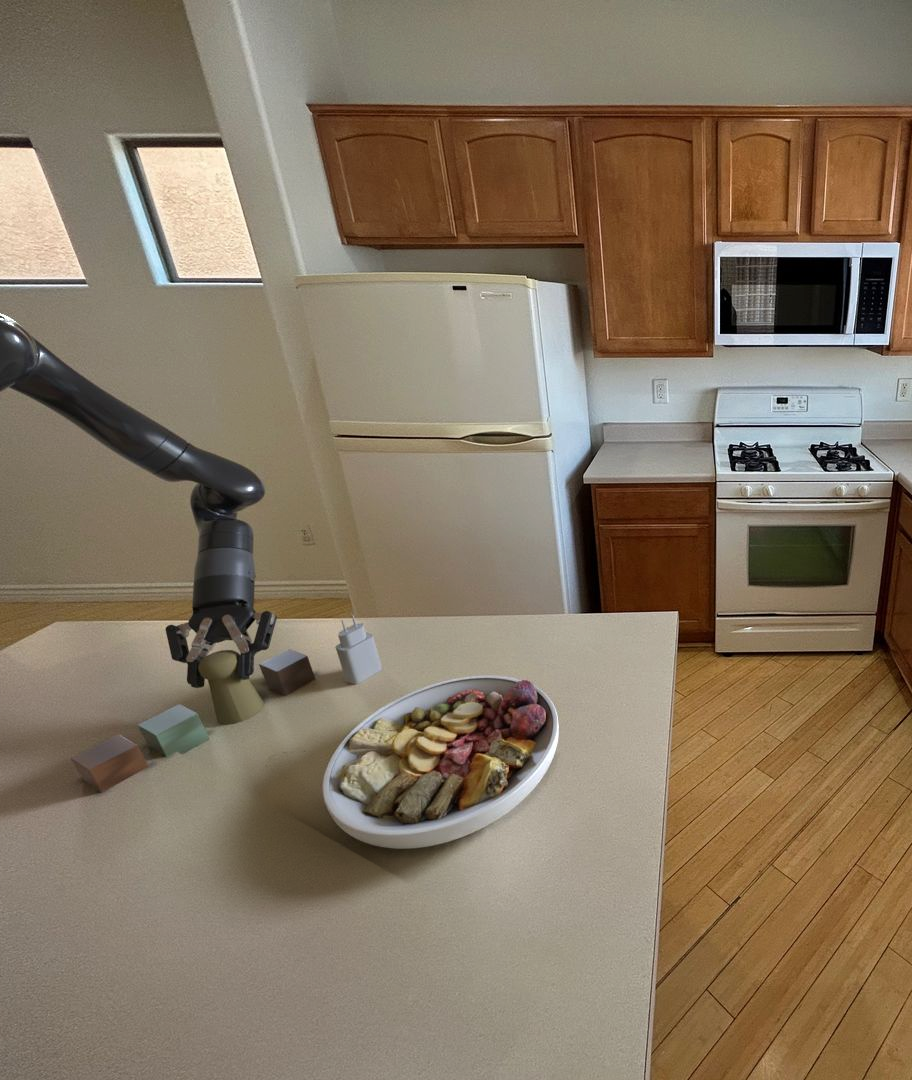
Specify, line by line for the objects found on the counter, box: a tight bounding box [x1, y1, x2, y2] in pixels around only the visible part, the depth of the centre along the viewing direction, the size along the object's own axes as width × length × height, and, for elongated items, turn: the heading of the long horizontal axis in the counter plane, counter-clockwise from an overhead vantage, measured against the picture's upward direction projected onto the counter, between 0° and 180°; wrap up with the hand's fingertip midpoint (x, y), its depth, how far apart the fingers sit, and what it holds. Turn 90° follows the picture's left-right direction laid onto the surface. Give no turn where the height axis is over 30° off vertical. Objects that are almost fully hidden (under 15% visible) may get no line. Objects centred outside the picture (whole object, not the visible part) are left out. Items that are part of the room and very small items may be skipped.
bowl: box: [321, 675, 560, 850], centre depth 79 cm, size 30×30×8 cm
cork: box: [198, 649, 265, 725], centre depth 88 cm, size 6×6×11 cm
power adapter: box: [334, 614, 383, 685], centre depth 97 cm, size 3×5×12 cm, turn 156°
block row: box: [70, 648, 316, 793], centre depth 86 cm, size 28×5×5 cm, turn 156°
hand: (220, 682), depth 86 cm, fingers closed on cork, 5 cm apart
